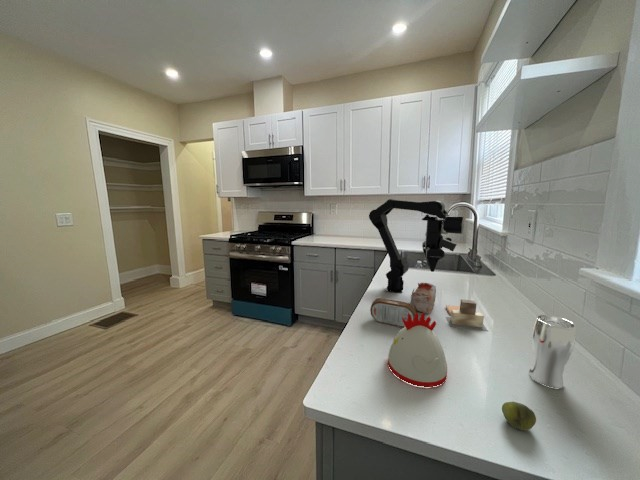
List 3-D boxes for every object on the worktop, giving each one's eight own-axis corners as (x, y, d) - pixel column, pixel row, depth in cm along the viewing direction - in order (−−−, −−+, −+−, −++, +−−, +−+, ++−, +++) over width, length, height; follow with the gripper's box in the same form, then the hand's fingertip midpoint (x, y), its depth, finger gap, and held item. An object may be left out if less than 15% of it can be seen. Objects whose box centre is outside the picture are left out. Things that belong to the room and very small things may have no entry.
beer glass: (557, 395, 54) (569, 332, 51) (520, 375, 60) (529, 317, 58) (571, 384, 57) (583, 324, 55) (534, 366, 63) (543, 311, 61)
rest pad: (449, 327, 82) (450, 326, 82) (445, 317, 89) (445, 316, 89) (488, 332, 79) (488, 331, 79) (480, 322, 86) (480, 320, 86)
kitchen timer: (382, 350, 70) (385, 300, 67) (432, 351, 70) (436, 301, 67) (396, 388, 56) (399, 327, 54) (457, 389, 56) (464, 328, 53)
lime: (496, 416, 49) (499, 394, 48) (519, 415, 49) (523, 393, 48) (515, 438, 45) (518, 414, 44) (540, 436, 45) (544, 413, 44)
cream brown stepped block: (452, 323, 84) (454, 301, 82) (450, 320, 86) (452, 298, 85) (482, 327, 81) (485, 304, 80) (479, 323, 84) (482, 301, 82)
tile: (445, 310, 96) (449, 317, 90) (445, 305, 96) (450, 312, 90) (468, 312, 94) (474, 319, 88) (468, 307, 94) (474, 314, 88)
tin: (415, 326, 83) (417, 303, 81) (415, 331, 80) (416, 307, 78) (371, 317, 89) (371, 295, 87) (368, 321, 86) (369, 298, 85)
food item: (431, 317, 89) (433, 291, 88) (408, 312, 93) (410, 287, 92) (435, 303, 101) (437, 280, 99) (415, 299, 105) (416, 277, 103)
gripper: (461, 236, 91) (457, 277, 93) (450, 229, 108) (447, 264, 111) (428, 234, 94) (425, 274, 96) (423, 228, 111) (420, 262, 114)
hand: (430, 268), depth 104 cm, fingers open, 9 cm apart
